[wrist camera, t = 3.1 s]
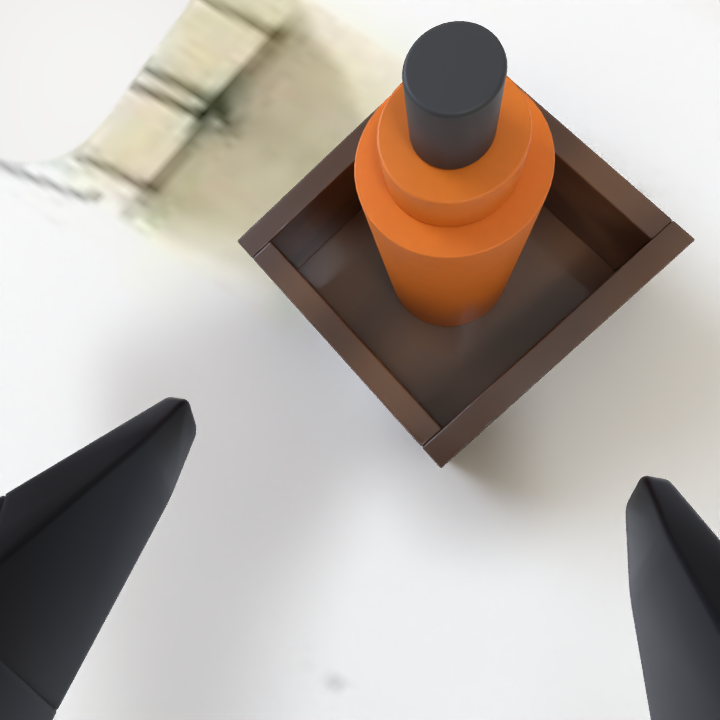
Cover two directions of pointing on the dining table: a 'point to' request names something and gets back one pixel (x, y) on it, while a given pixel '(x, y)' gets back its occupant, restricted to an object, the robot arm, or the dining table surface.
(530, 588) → the dining table surface
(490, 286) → the orange bottle
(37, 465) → the dining table surface
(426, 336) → the crate
